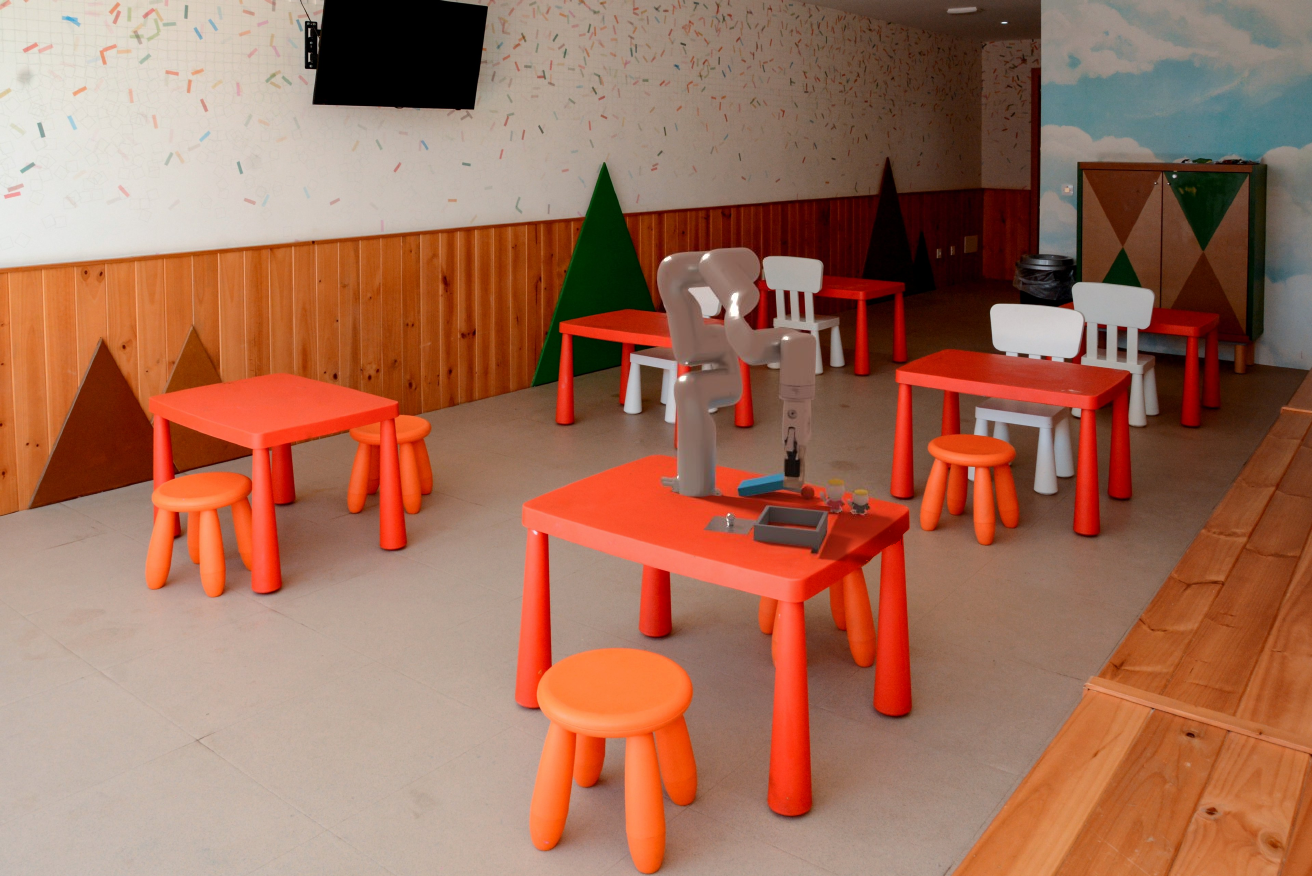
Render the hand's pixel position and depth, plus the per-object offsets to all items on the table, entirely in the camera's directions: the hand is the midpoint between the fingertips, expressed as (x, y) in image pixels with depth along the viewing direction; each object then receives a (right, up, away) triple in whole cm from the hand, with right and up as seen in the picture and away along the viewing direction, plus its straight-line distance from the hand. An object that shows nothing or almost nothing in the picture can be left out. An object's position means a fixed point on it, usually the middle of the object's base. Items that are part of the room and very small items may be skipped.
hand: (794, 472), depth 231 cm
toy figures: (+15, -10, +22) cm, 29 cm away
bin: (0, -15, +4) cm, 15 cm away
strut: (0, -3, +1) cm, 3 cm away
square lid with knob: (-13, -13, +9) cm, 21 cm away
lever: (0, -7, +35) cm, 36 cm away
